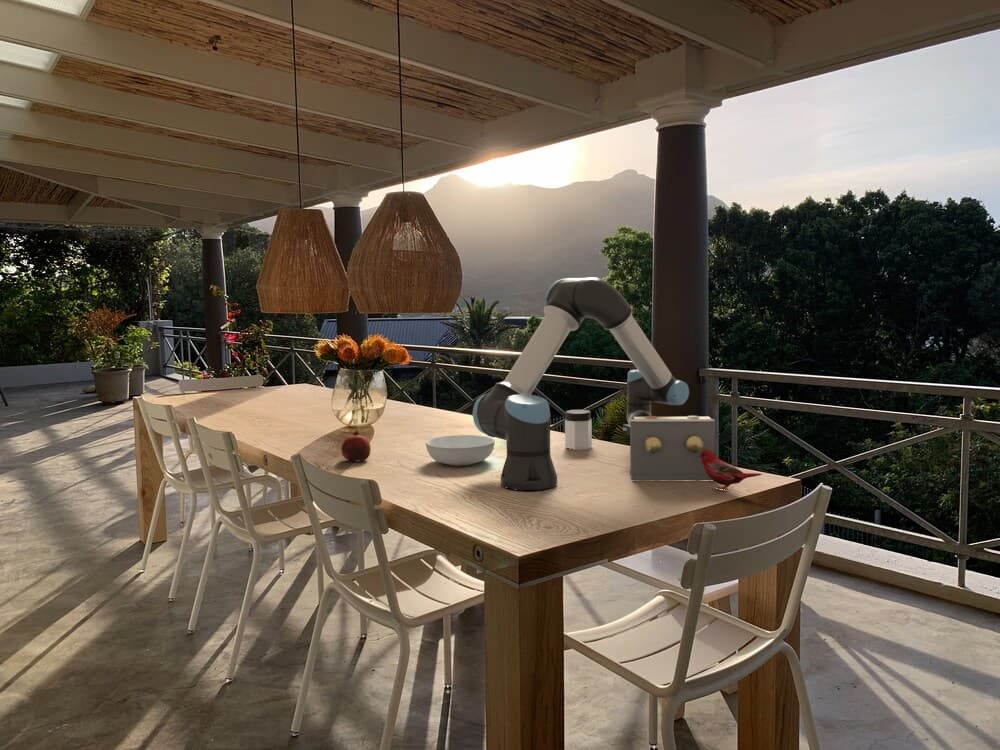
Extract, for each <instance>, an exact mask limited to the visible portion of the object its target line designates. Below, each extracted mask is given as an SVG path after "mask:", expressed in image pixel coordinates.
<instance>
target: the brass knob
mask: <svg viewBox="0 0 1000 750" xmlns="http://www.w3.org/2000/svg"><path fill="white" fill-rule="evenodd" d="M644 447H645V449H646V451H647V452H648V453H650V454H656V453H658V452H659V451H660V450H661V447H662V445H661V442H660V440H659V439H658V438H657V437H654V436H651V437H646V440H645V442H644Z"/></svg>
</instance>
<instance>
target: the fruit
mask: <svg viewBox="0 0 1000 750" xmlns="http://www.w3.org/2000/svg"><path fill="white" fill-rule="evenodd" d="M340 449H341V455H342V456H343V458H344V459H345V460H348V461H352V462H355V461H360V462H363V461H365V460H367V459H368V458H369V457H370V455H371V443H370V441H369V439H368V438H367V437H365V436H363V435H360V432H359V431H358V429H357V428H356V429H355V430H353V433H352V434H351V435H349V436H347V437H346V438H345V439H344V440H343V442H342V444H341V447H340Z"/></svg>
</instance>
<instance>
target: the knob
mask: <svg viewBox="0 0 1000 750" xmlns="http://www.w3.org/2000/svg"><path fill="white" fill-rule="evenodd" d="M685 445H686V447H687V449H688V450H689V451H690V452H693V453H696V452H699V451H700V450H701V449H702V448H703V441H702V439H701V438H700V437H698V436H696V435H691V436H689V437H687V439H686V442H685Z"/></svg>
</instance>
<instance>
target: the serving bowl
mask: <svg viewBox="0 0 1000 750" xmlns="http://www.w3.org/2000/svg"><path fill="white" fill-rule="evenodd" d="M425 447H426V451H427V453H428V455H429V456H430V458H432V459H433V460H434V461H436V462H438V463H441V464H445V465H448V464H449V465H448V466H452V465H466V466H470V465H469V464H471V465H474V464H476V463H479V462H480V463H481V462H482V461H485V460H486V459H487V458H489V456H491V454H492V453H493V451H494V448H495V439H494V438H493V437H490V436H485V435H475V434H474V435H473V434H455V435H442V436H436V437H433V438H430V439H428V440H426V441H425ZM473 463H474V464H473Z"/></svg>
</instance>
